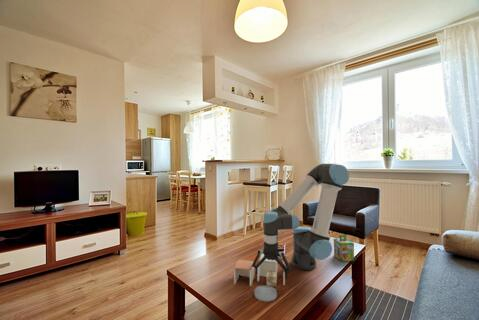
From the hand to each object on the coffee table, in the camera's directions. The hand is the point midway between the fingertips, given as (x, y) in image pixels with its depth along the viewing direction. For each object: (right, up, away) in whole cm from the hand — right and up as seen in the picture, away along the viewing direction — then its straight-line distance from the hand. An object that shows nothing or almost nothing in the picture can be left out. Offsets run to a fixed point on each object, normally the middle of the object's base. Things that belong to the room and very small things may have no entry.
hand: (271, 281), depth 113 cm
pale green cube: (0, -1, +11) cm, 11 cm away
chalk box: (+52, 0, +27) cm, 58 cm away
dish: (-4, -1, -9) cm, 10 cm away
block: (0, -1, 0) cm, 1 cm away
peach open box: (-14, -1, +4) cm, 15 cm away
